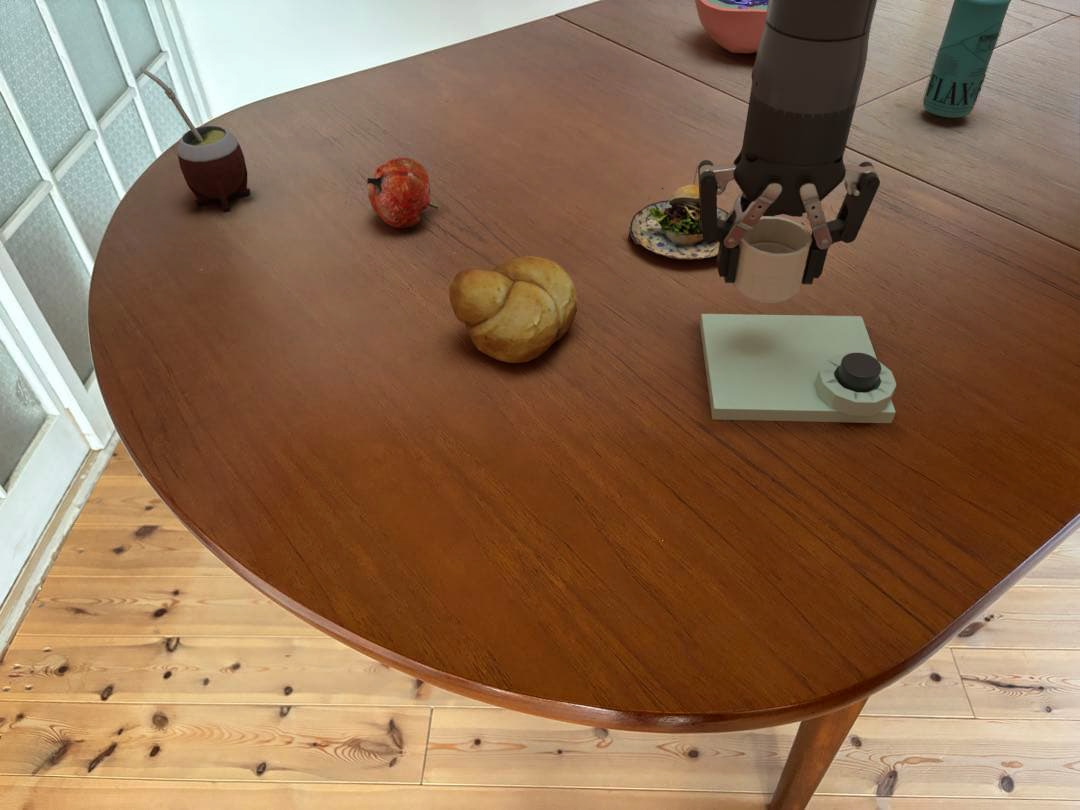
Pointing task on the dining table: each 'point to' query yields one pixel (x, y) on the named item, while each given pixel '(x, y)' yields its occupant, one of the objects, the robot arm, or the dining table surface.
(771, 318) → the scale
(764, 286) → the cup
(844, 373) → the button
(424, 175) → the pomegranate
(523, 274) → the bread roll
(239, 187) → the mate gourd
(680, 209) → the burger
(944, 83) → the beverage bottle
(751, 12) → the cell model
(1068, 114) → the dining table surface
